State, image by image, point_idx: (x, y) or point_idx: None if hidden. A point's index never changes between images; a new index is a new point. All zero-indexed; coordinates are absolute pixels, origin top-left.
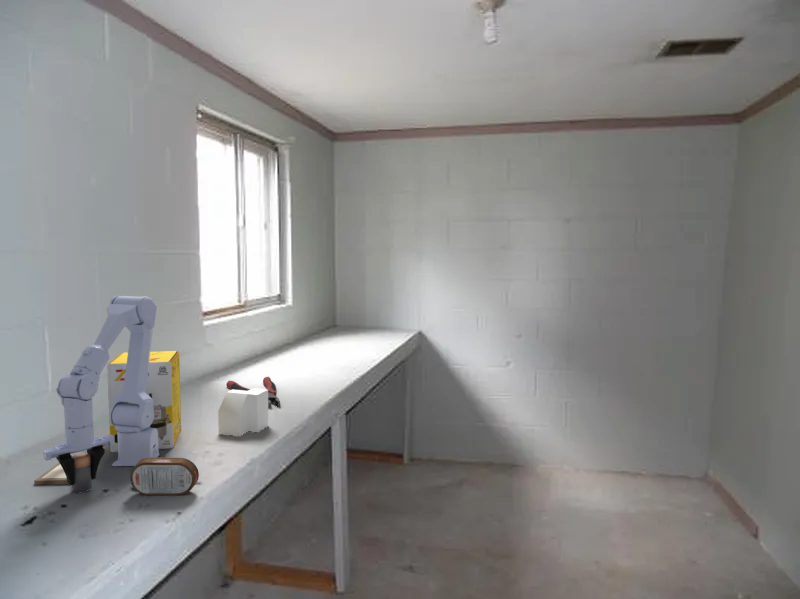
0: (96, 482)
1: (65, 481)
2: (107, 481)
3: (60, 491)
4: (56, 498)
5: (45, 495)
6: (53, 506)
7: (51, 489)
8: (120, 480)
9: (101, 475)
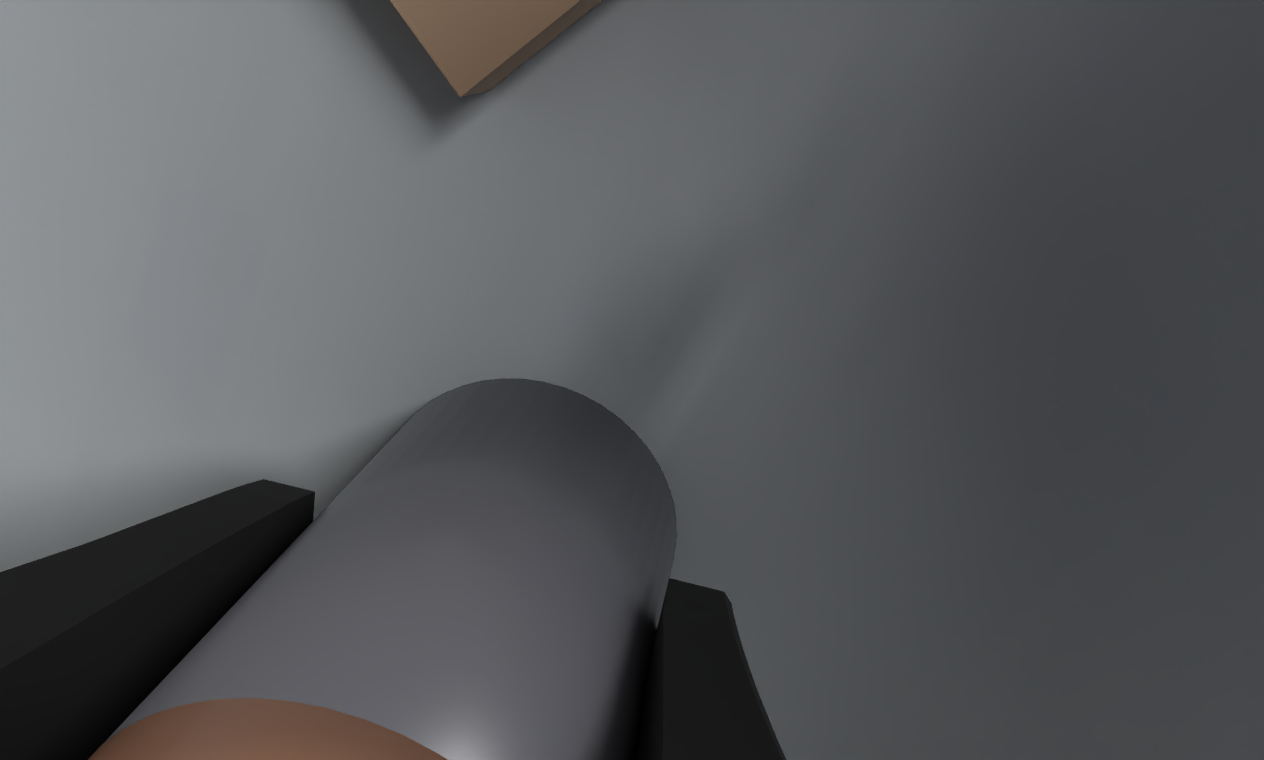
0: (837, 473)
1: (423, 27)
2: (971, 600)
3: (255, 282)
4: (127, 482)
5: (30, 220)
6: None
7: (172, 41)
8: (1115, 749)
9: (1139, 240)
